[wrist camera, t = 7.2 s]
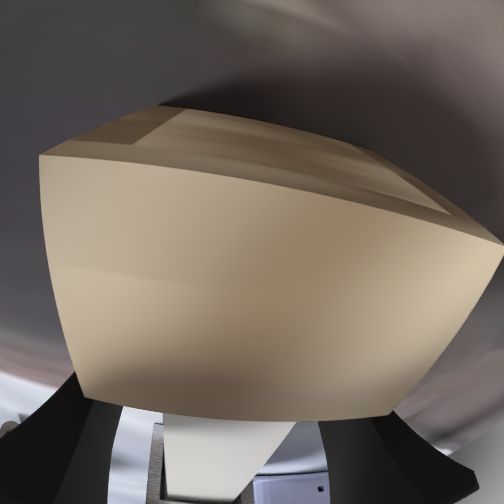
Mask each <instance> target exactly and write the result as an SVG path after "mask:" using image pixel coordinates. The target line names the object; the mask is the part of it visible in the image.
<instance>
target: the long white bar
mask: <svg viewBox="0 0 504 504" xmlns="http://www.w3.org/2000/svg"><path fill="white" fill-rule="evenodd" d="M295 423H296V422H259V421H236V420H221V419H210V418H199V417H190V416H182V415H174V414H167V413H163V434H164V453H165V468H166V481H167V492H168V499H174V500H184V501H195V502H209V503H232V502H233V501H234V500H235V498H236V497H237V496H238V495H239V494H240V493H241V492H242V490H243V489H244V488H245V487H246V486H247V485H248V483H249V482H250V481H251V480H252V479H253V478H254V476H255V475H256V474H257V473H258V472H259V470H260V469H261V468H262V467H263V465H264V464H265V463H266V462H267V460H268V459H269V458H270V457H271V455H272V454H273V453H274V451H275V450H276V449H277V448H278V446H279V445H280V444H281V442H282V441H283V440H284V438H285V437H286V436H287V434H288V433H289V432H290V430H291V429H292V427H293V426H294V425H295Z"/></svg>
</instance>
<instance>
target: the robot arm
mask: <svg viewBox="0 0 504 504" xmlns="http://www.w3.org/2000/svg"><path fill="white" fill-rule="evenodd" d="M122 409H123V406H122V405H117V404H112V403H108V402H103V401H99V400H95V399H91V398H87V397H84V394H83V391H82V389H81V386H80V383H79V380H78V377H77V375H76V372H74V373H73V374H72V375H71V376H70V377H69V378H68V379H67V380H66V382H65V383H64V384H63V385H62V386H61V387H60V388H59V389H58V390H57V391H56V392H55V393H54V394H53V395H52V396H51V397H50V398H49V399H48V400H47V401H46V402H45V403H44V404H43V405H42V406H41V407H40V408H39V409H37V410H36V411H35V412H34V413H33V414H31V415H30V416H29V417H28V418H27V419H26V420H24V421H23V422H22V423H21V424H19V425H18V426H16V427H15V428H14V429H12V430H11V431H9V432H8V433H7V434H5V435H4V436H2V437H1V438H0V504H107V497H108V482H109V471H110V462H111V454H112V448H113V443H114V438H115V435H116V431H117V427H118V423H119V420H120V416H121V412H122ZM318 424H319V428H320V433H321V437H322V441H323V445H324V450H325V454H326V459H327V466H328V472H322V473H312V474H301V475H285V476H254V478H253V488H254V500H255V504H454V503H456V502H458V501H460V500H462V499H463V498H465V497H467V496H469V495H470V494H472V493H474V492H476V491H477V490H478V489H479V484H478V481H477V479H476V476H475V473H474V471H473V470H471V469H469V468H467V467H465V466H463V465H461V464H459V463H457V462H455V461H454V460H452V459H450V458H449V457H447V456H446V455H444V454H443V453H441V452H440V451H438V450H437V449H435V448H434V447H433V446H431V445H430V444H429V443H428V442H426V441H425V440H424V439H423V438H421V437H420V436H419V435H418V434H417V433H416V432H414V431H413V430H412V429H411V428H410V427H409V426H408V425H407V424H406V423H405V422H404V421H403V420H402V419H401V418H400V417H399V416H398V415H397V414H396V413H395V412H394V411H392V412H391V413H390V414H389V415H383V416H375V417H366V418H356V419H345V420H330V421H318Z"/></svg>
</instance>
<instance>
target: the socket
mask: <svg viewBox="0 0 504 504" xmlns="http://www.w3.org/2000/svg"><path fill="white" fill-rule="evenodd" d="M39 173H40V194H41V208H42V219H43V228H44V237H45V244H46V251H47V258H48V264H49V270H50V275H51V281H52V286H53V291H54V295H55V300H56V304H57V309H58V313H59V317H60V321H61V325H62V329H63V332H64V336H65V339H66V343H67V346H68V350H69V353H70V356H71V359H72V363H73V366H74V369H75V372H76V375H77V377H78V380H79V383H80V386H81V389H82V391H83V394H84V397H87V398H91V399H95V400H99V401H103V402H108V403H112V404H117V405H122V406H127V407H132V408H137V409H142V410H148V411H154V412H160V413H167V414H174V415H182V416H190V417H199V418H210V419H221V420H236V421H259V422H307V421H330V420H345V419H356V418H366V417H375V416H383V415H389V414H390V413H391V412H392V411H393V410H394V409H395V408H396V406H397V405H398V404H399V403H400V402H401V401H402V400H403V399H404V398H405V397H406V396H407V395H408V393H409V392H410V391H411V390H412V389H413V388H414V387H415V385H416V384H417V383H418V382H419V381H420V380H421V378H422V377H423V376H424V375H425V374H426V372H427V371H428V370H429V369H430V368H431V366H432V365H433V364H434V363H435V361H436V360H437V359H438V357H439V356H440V355H441V354H442V352H443V351H444V350H445V348H446V347H447V346H448V344H449V343H450V341H451V340H452V339H453V337H454V336H455V335H456V333H457V332H458V330H459V329H460V327H461V326H462V324H463V323H464V322H465V320H466V319H467V317H468V316H469V314H470V312H471V311H472V309H473V308H474V306H475V305H476V303H477V301H478V300H479V298H480V297H481V295H482V293H483V292H484V290H485V288H486V286H487V285H488V283H489V281H490V280H491V278H492V276H493V274H494V272H495V271H496V269H497V267H498V265H499V263H500V261H501V259H502V257H503V255H504V244H503V243H502V242H501V241H500V240H499V239H497V238H496V237H495V236H494V235H493V234H491V233H490V232H489V231H488V230H487V229H485V228H484V227H483V226H482V225H480V224H479V223H478V222H477V221H475V220H474V219H473V218H472V217H470V216H469V215H468V214H467V213H465V212H464V211H463V210H461V209H460V208H459V207H457V206H456V205H455V204H453V203H452V202H451V201H449V200H448V199H446V198H445V197H444V196H442V195H441V194H439V193H438V192H437V191H435V190H434V189H432V188H431V187H429V186H428V185H426V184H425V183H423V182H422V181H420V180H419V179H417V178H416V177H414V176H413V175H411V174H410V173H408V172H407V171H405V170H403V169H402V168H400V167H399V166H397V165H395V164H394V163H392V162H391V161H389V160H387V159H386V158H384V157H382V156H381V155H379V154H377V153H375V152H374V151H372V150H369V149H365V148H362V147H359V146H356V145H353V144H349V143H346V142H343V141H339V140H336V139H332V138H329V137H325V136H321V135H317V134H314V133H310V132H306V131H302V130H298V129H294V128H290V127H285V126H281V125H276V124H272V123H267V122H263V121H258V120H253V119H248V118H242V117H237V116H231V115H226V114H220V113H213V112H207V111H200V110H193V109H186V108H178V107H169V106H160V105H155V106H152V107H149V108H146V109H144V110H141V111H138V112H135V113H132V114H130V115H127V116H124V117H122V118H119V119H117V120H114V121H112V122H109V123H107V124H104V125H102V126H99V127H97V128H95V129H92V130H90V131H88V132H86V133H83V134H81V135H79V136H77V137H75V138H72V139H70V140H68V141H66V142H64V143H62V144H60V145H58V146H56V147H54V148H52V149H50V150H48V151H46V152H44V153H42V154H40V155H39Z"/></svg>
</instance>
